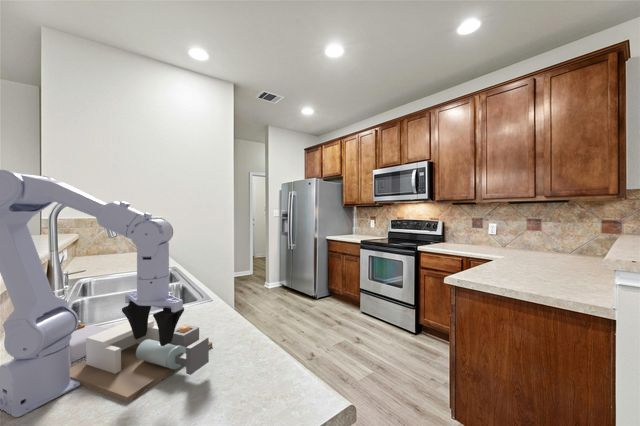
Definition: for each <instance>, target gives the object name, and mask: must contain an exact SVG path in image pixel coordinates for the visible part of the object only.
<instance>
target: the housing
mask: <svg viewBox="0 0 640 426" xmlns="http://www.w3.org/2000/svg"><path fill="white" fill-rule="evenodd" d="M182 326H189V327H190V330H189V331H187V332H185V333H180V332H179V328H180V327H182ZM147 339H150V340H155V341H159V330H158V326H157V325H155V320H151V319H148V327H147V333H146V336H143V337H141V338H139V339H135V338H134V335H133V332H132V328H131V326H130V323H129V321H126V322H123V323H122V324H118V325H116V326H115V327H113V328H110V329H108V330H105V331H102V332H100V333H97V334H95V335H92V336H89V337H87V338H86V356H85V357H86V358H85V359H86V360H85V361H86V364H87V365H90V366H93V367H96V368H99V369H102V370H105V371H109V372H112V373H115V374H116V373H117V372H119V371H121V350H124V349H126V348H128V347H130V346H132V345H134V344H136V343H138V344H141V343H142V342H143V341H144V340H147ZM198 340H200V327H199V326H194V325H189V324H183V325H181V326H179V327H178V328H175V331H174V334H173V338H172V342H170V343H169V344H172V345H176V346H178V345H180V346H184V347H185V348H186V347H188V346H189V345H191V344H193V343H194V342H196V341H198ZM159 342H160V341H159Z"/></svg>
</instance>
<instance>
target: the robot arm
mask: <svg viewBox="0 0 640 426" xmlns="http://www.w3.org/2000/svg"><path fill="white" fill-rule="evenodd" d="M53 203H58V204H60V205H62V206H65V207H68V208H71V209H73V210H75V211H79V212H81V213H84V214H86V215H89V216H91V217H94V218H95V219H96V222H97V224H98V226H99V227H101V228H104V229H107V230H109V231H110V232H113V233H116V234H118V235H120V236H123V237H125V238H127V239H130V240H131V242H132V243H133V244H134V246H135V247H136V291H132V292H128V293H126V294H124V295H125V296H124V297H125V298H124V300H125V302H124V303H125V304H127V306H124V307H122V308H121V312H122V313H123V314H124V316H125V317H126V319H127V320H128V321H129V323H130V326H131V328H132V332H133V335H134V338H135V339H139V338H141V337H143V336H146V333H147V327H148V320H149V317H150V312H151V309H152V307H153V308H158V309H162V310H160V311H157V312H155V313H153V314H152V317H153V318H154V321H155V322H156V326H158V330H159V341H160V345H161V346H165V345H167V344H168V343H170V342H172V338H173V334H174V331H175V329H177V328H176V327H177V325H178V323H179V320H180V318H181V317H182V315H183V313H184V311H185V307H184V300H183V299H180V298H178V297H175V296H174V295H173V291H170V251H169V250H170V249H169V248H170V241H171V240H172V238H173V236H174V228H173V226H172V224H171V223H170V222H168V221H167V220H166V219H164V218H161V217H160V218H157V217H156V218H153V217H152V216H153V214H152V213H150V212H141V211H140V210H137V209H135V208H133V207H130V206H131V204H130V203H129V202H126V201H120V202H119V201H111V202H107V203H106V202H104V201H102V200H100V199H97V197H96V198H95V197H94V196H92V195H90V194H88V193H85V192H84V191H82V190H80V189H78V188H76V187H74V186H72V185H69V184H67V183H66V182H64V181H62V180H57V179H55V178H54V179H53V178H52V177H50V176H46V175H35V174H28V173H22V172H15V171H10V170H7V169H0V276H1V278H2V281H3V283H4V286H5V289H6V290H7V293H8V296H9V298H10V299H9V300H10V301H11V303H12V306H13V310H12V312H11V313H10V314H9V316H8V317H7V318H6V320H5V321H4V322H3V324H2V327H3V329H4V330H3V331H4V340H3V346H4V349H5V351H6V353H8V354H9V356H11V357H13V358H12V359H11V360H9V361H7V362H4V363H3V364H0V409H1V410H0V411H2V410H4V411H6V412H7V413H6V412H5V413H6V414H8V413H9V414H8V415H10V414H11V415H10V416H13V417H14V418H19V417H22V416H23V415H26V414H27V413H30V412H31V411H33V410H35V409H37V408H39V407H42V406H43V405H45V404H47V403H49V402H50V401H53V400H54V399H56V398H59V397H61V396H62V395H64V394H66V393H68V392H70V391H72V390H73V389H76V388H77V387H80V386H82V385H81V382H78V381H75V380H73V379H70V367H71V363H70V340H71V339H72V335H71V334H72V333H73V332H74V331H75V330H76V329H77V327H78V324H79V321H80V319H79V316H78V314H77V313H76V312H75V310H73V309H72V307H70V305H69V303H68V301H67V300H66V299H64V298H61V297H59V296H56V295H55V294H54V292H53V289H52V286H51V285H50V282H49V279H48V276H47V273H46V271H45V268H44V266H43V263H42V261H41V258H40V255H39V252H38V250H37V247H36V245H35V242H34V239H33V237H32V235H31V232H30V229H29V226H28V223H29V221H31V220H32V218H33V217H35V216H36V215H37V214H39V213H40V212H42V211H43V210H45V209H46V208H48V207H50V206H51V205H52V204H53ZM128 321H127V322H128ZM4 411H3V412H4Z"/></svg>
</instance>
